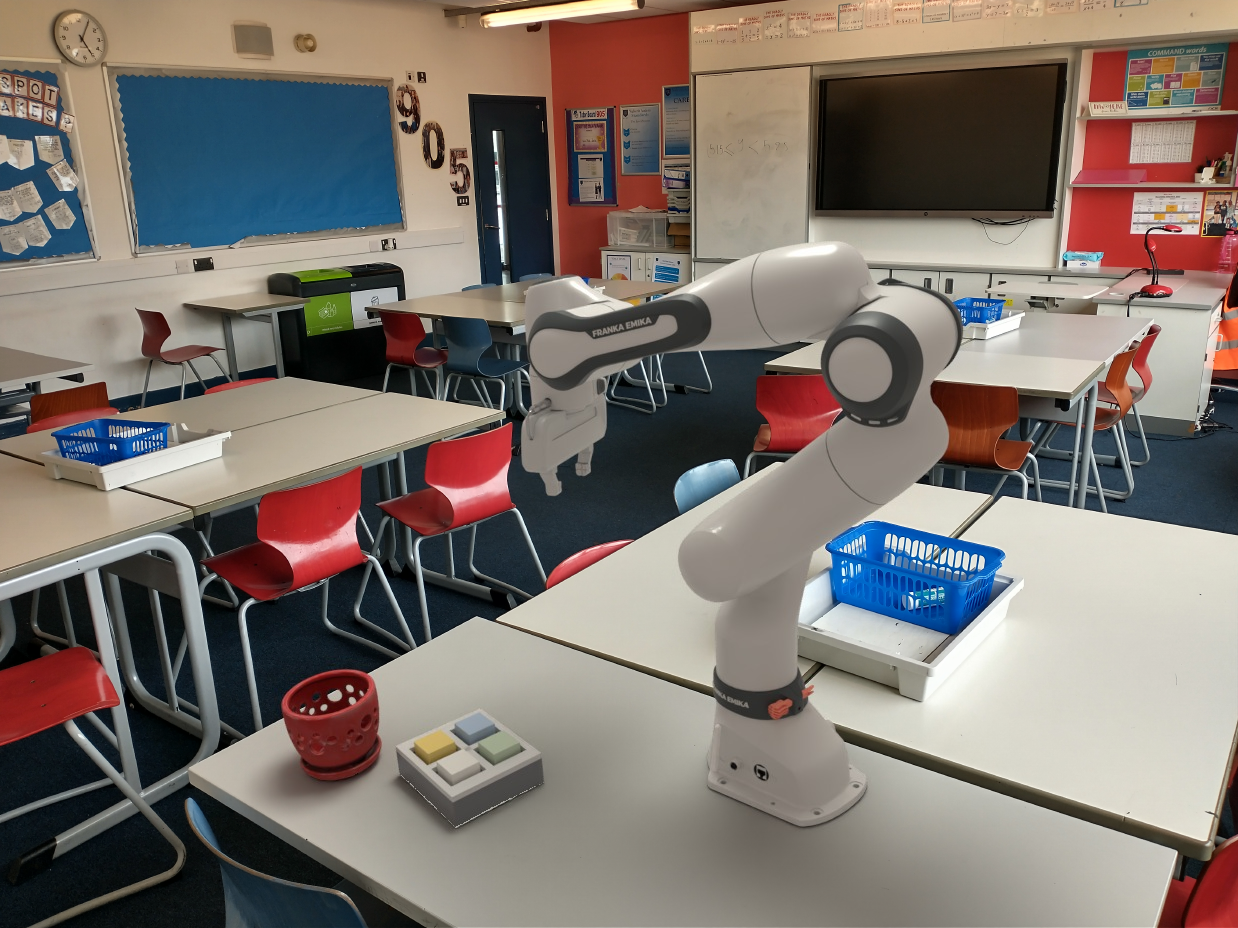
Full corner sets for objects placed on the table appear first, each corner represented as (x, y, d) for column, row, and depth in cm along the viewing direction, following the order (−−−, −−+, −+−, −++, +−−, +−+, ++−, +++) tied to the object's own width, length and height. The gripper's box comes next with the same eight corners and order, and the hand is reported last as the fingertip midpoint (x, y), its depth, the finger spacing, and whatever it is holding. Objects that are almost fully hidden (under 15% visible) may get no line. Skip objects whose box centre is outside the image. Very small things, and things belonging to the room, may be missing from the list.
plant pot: (315, 737, 146) (303, 667, 143) (398, 737, 145) (388, 667, 141) (278, 789, 134) (264, 715, 130) (367, 791, 132) (356, 715, 129)
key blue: (496, 739, 136) (494, 723, 136) (471, 751, 134) (469, 735, 133) (481, 727, 140) (479, 712, 139) (456, 738, 137) (454, 723, 136)
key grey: (481, 778, 128) (479, 761, 127) (454, 791, 125) (451, 774, 124) (465, 764, 131) (463, 748, 130) (438, 777, 128) (436, 761, 128)
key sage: (521, 758, 132) (519, 742, 131) (495, 770, 129) (493, 754, 128) (505, 745, 135) (503, 729, 134) (479, 757, 132) (477, 741, 131)
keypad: (544, 782, 132) (541, 752, 130) (456, 828, 123) (452, 797, 122) (483, 735, 144) (480, 708, 142) (399, 774, 135) (395, 745, 134)
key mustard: (457, 757, 133) (455, 741, 132) (430, 770, 130) (428, 753, 129) (442, 745, 136) (440, 729, 135) (415, 757, 133) (413, 741, 133)
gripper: (546, 409, 124) (555, 509, 128) (611, 377, 142) (617, 465, 146) (505, 407, 127) (514, 505, 131) (574, 376, 144) (580, 462, 148)
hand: (569, 484), depth 138 cm, fingers open, 8 cm apart
